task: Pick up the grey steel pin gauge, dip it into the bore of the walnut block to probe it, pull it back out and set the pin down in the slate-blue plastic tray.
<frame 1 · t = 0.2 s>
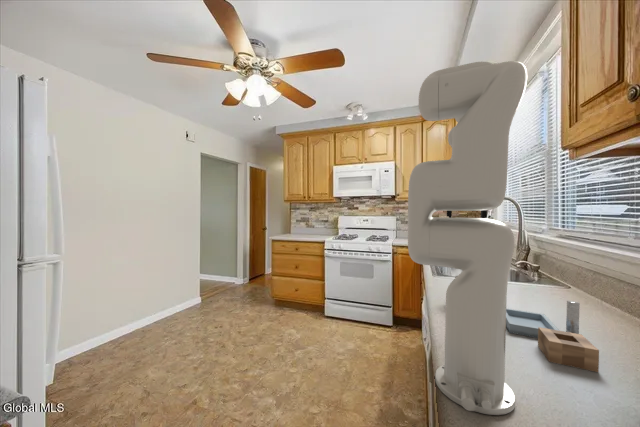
hand: (465, 219, 87), 31 cm above the countertop, fingers open, 9 cm apart
pin: (572, 340, 68), on the countertop
tray: (527, 327, 75), on the countertop
cup: (467, 306, 91), on the countertop
bore block: (565, 357, 59), on the countertop
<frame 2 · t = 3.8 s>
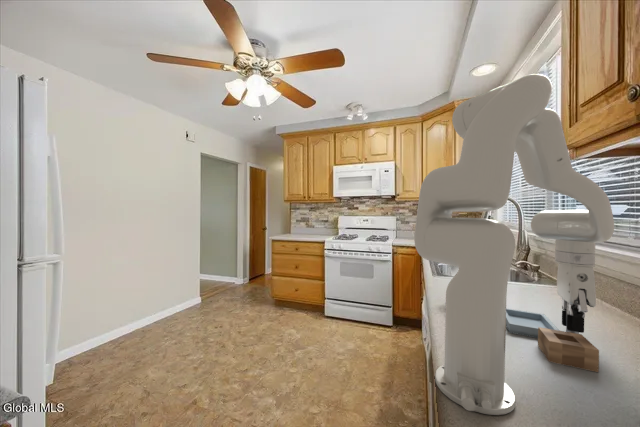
hand: (572, 328, 68), 3 cm above the countertop, fingers closed on pin, 2 cm apart
pin: (572, 340, 68), on the countertop, touching gripper
everything else where it was.
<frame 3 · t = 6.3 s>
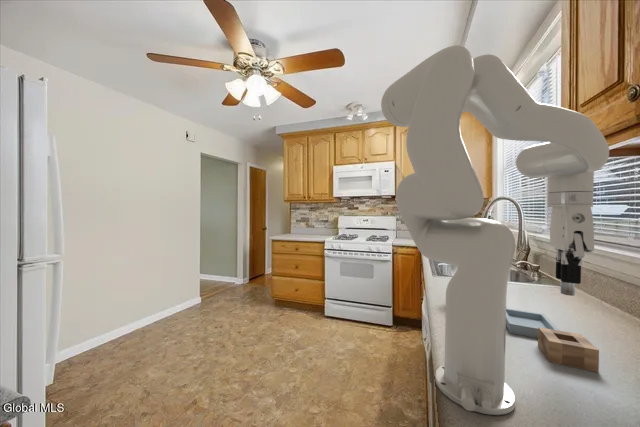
hand: (567, 280, 59), 18 cm above the countertop, fingers closed on pin
pin: (567, 294, 59), point 15 cm above the countertop, touching gripper
everything else where it was.
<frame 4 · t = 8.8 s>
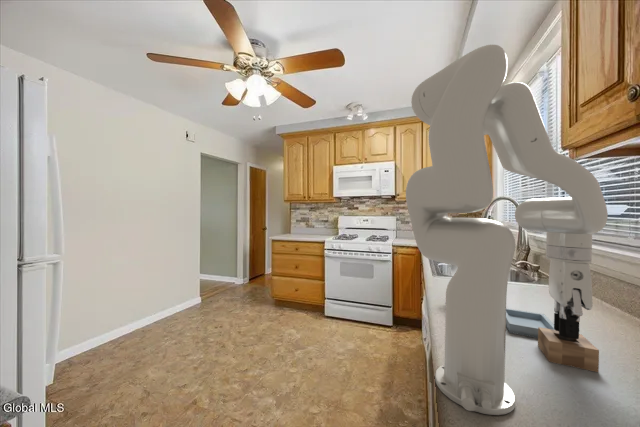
hand: (565, 333, 59), 6 cm above the countertop, fingers closed on pin, 2 cm apart
pin: (565, 347, 59), point 2 cm above the countertop, touching gripper
everything else where it was.
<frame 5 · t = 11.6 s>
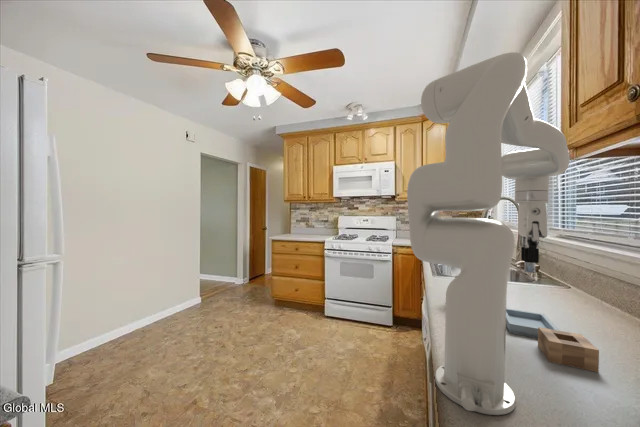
hand: (529, 260, 75), 19 cm above the countertop, fingers closed on pin
pin: (529, 271, 75), point 16 cm above the countertop, touching gripper
everything else where it was.
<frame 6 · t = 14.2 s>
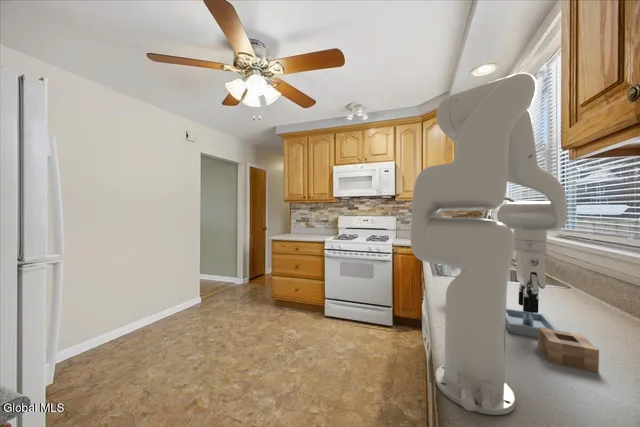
hand: (527, 307, 75), 6 cm above the countertop, fingers open, 4 cm apart
pin: (527, 324, 75), point 1 cm above the countertop, touching tray
everything else where it was.
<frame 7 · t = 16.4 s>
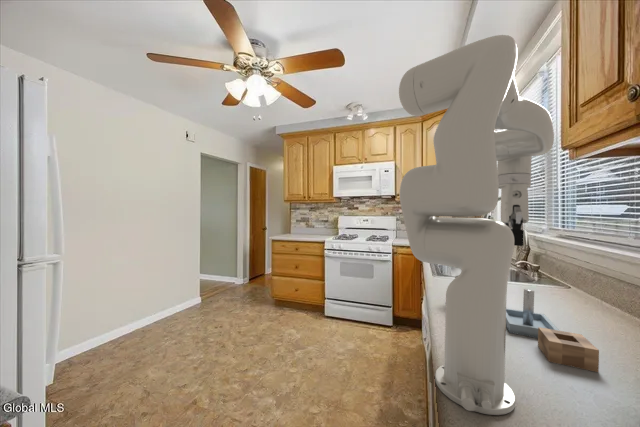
hand: (511, 244, 71), 24 cm above the countertop, fingers open, 9 cm apart
nothing on the countertop moved.
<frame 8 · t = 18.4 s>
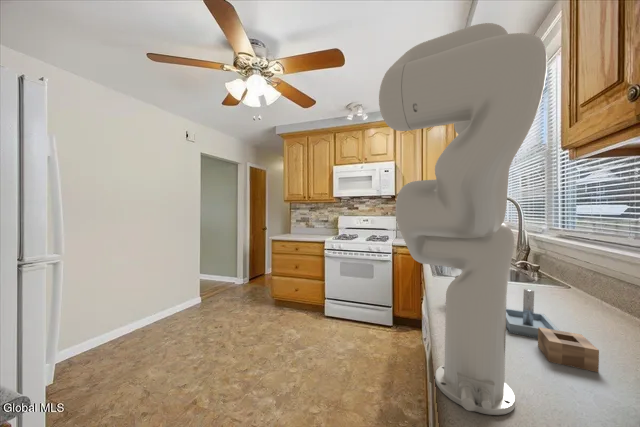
hand: (481, 230, 66), 28 cm above the countertop, fingers open, 9 cm apart
nothing on the countertop moved.
at the end: pin inside the target area on the tray (0.1 cm from its centre), point 0.8 cm above the tray's base; the gripper is holding nothing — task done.
